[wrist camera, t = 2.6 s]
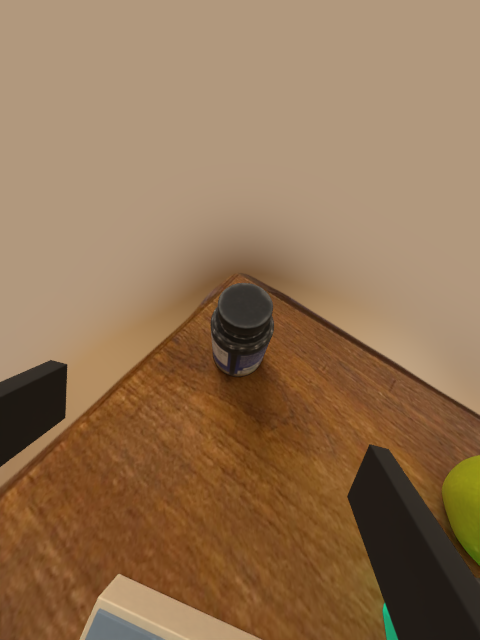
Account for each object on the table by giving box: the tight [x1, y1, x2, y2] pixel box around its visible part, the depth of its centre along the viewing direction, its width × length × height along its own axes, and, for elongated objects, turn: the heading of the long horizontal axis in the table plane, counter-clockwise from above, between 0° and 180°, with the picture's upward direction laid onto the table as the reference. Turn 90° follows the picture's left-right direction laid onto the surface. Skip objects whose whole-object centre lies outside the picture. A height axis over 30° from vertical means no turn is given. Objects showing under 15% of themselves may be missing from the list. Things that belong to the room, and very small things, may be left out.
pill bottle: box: [211, 283, 274, 377], centre depth 24 cm, size 6×6×11 cm
